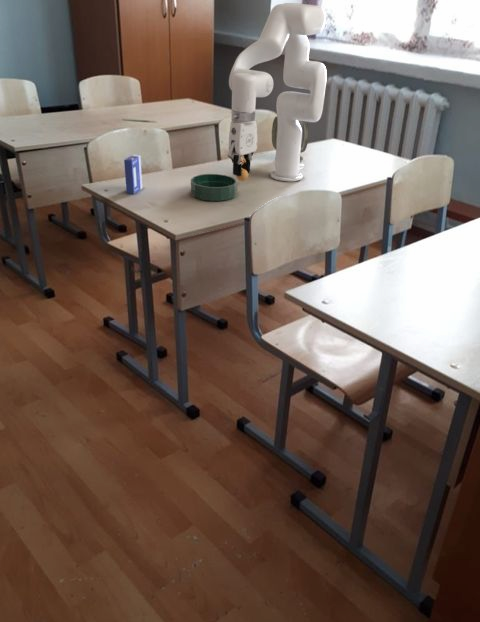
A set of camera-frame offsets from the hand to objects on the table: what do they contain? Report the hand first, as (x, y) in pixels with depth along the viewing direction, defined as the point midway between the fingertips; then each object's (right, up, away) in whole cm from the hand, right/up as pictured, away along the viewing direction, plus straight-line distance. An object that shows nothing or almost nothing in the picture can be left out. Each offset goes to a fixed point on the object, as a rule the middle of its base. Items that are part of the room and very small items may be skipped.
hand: (241, 173), depth 199 cm
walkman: (-39, -2, +14) cm, 41 cm away
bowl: (-11, -3, +15) cm, 19 cm away
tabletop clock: (+17, +24, +61) cm, 68 cm away
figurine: (-1, -3, +1) cm, 3 cm away
